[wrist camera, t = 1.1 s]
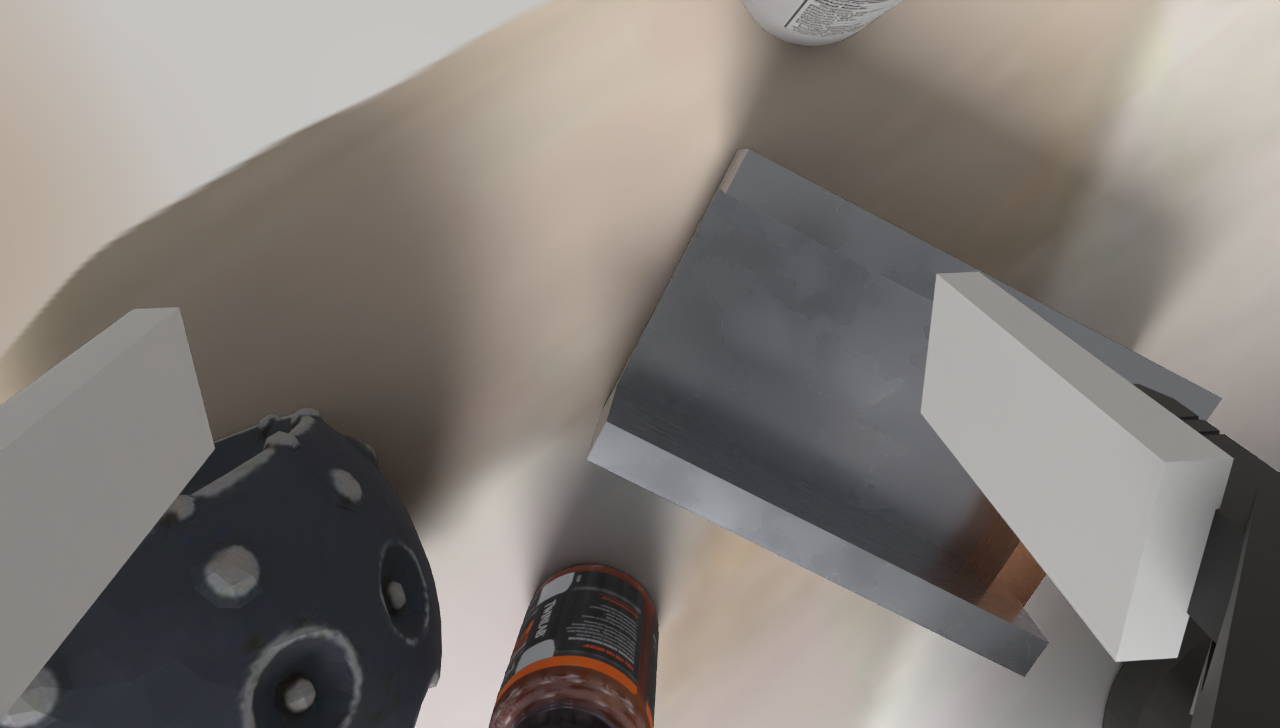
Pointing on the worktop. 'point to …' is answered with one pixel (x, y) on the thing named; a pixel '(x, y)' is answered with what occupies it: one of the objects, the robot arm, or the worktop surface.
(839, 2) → the energy drink can
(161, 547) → the black thick disc
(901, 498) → the channel
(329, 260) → the worktop surface
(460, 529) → the worktop surface
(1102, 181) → the worktop surface
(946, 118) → the worktop surface
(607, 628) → the supplement bottle
